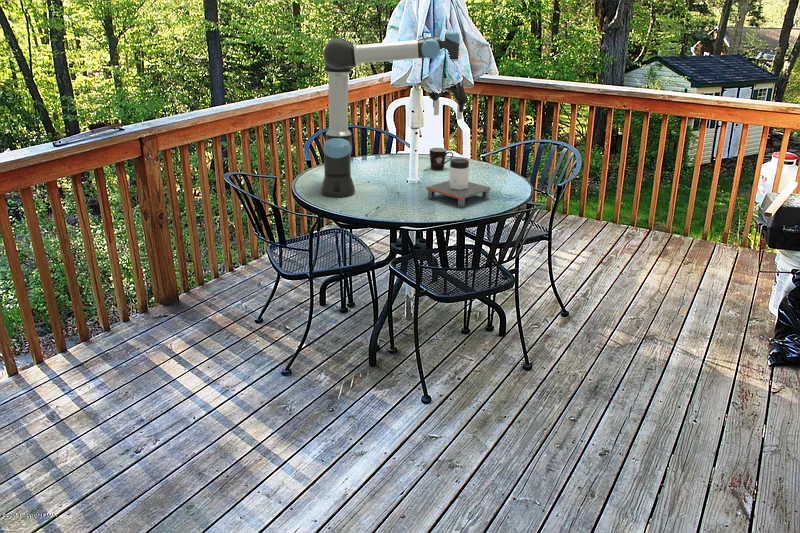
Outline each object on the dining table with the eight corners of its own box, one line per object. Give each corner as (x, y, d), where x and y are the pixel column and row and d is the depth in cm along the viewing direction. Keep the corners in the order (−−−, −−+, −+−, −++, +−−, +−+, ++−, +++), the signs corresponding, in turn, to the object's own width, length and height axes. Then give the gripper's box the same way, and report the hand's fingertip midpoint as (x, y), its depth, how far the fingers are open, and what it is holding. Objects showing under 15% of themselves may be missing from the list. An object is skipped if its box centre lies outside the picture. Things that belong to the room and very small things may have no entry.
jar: (445, 188, 289) (446, 161, 284) (452, 183, 296) (454, 157, 291) (463, 191, 285) (465, 163, 280) (471, 186, 292) (472, 159, 287)
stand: (425, 198, 292) (425, 187, 290) (455, 189, 305) (455, 178, 303) (460, 208, 279) (461, 197, 277) (490, 198, 293) (490, 187, 291)
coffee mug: (427, 170, 335) (427, 150, 331) (431, 166, 343) (431, 147, 339) (449, 172, 332) (450, 152, 328) (453, 168, 340) (453, 148, 336)
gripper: (422, 66, 296) (421, 114, 305) (466, 72, 280) (463, 122, 289) (433, 65, 301) (432, 112, 310) (477, 70, 285) (474, 119, 294)
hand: (447, 117), depth 299 cm, fingers open, 13 cm apart
